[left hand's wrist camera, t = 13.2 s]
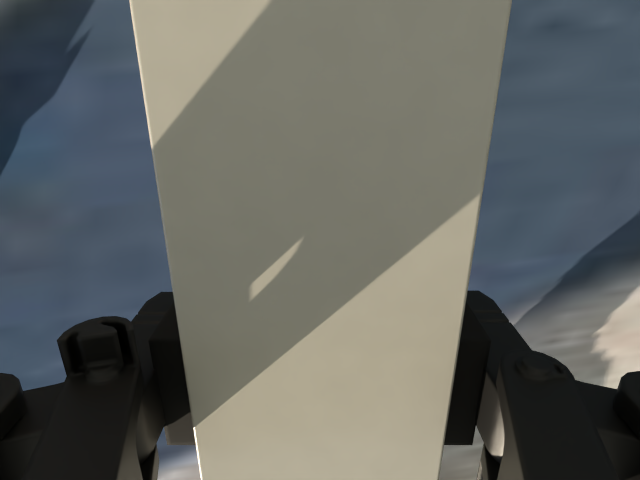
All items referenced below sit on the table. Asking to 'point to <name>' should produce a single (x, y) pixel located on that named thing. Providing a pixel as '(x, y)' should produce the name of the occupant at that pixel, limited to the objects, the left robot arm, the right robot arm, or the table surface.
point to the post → (320, 221)
